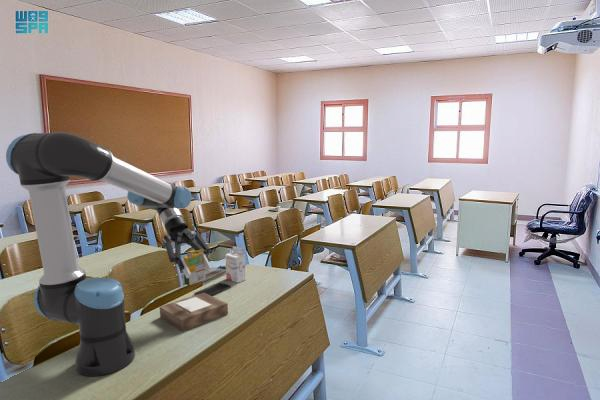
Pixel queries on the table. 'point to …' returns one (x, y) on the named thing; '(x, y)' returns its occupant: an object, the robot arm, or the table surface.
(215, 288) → the phone
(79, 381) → the table surface
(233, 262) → the ink cartridge box
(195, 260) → the crayon box
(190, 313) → the brown wooden flat block
